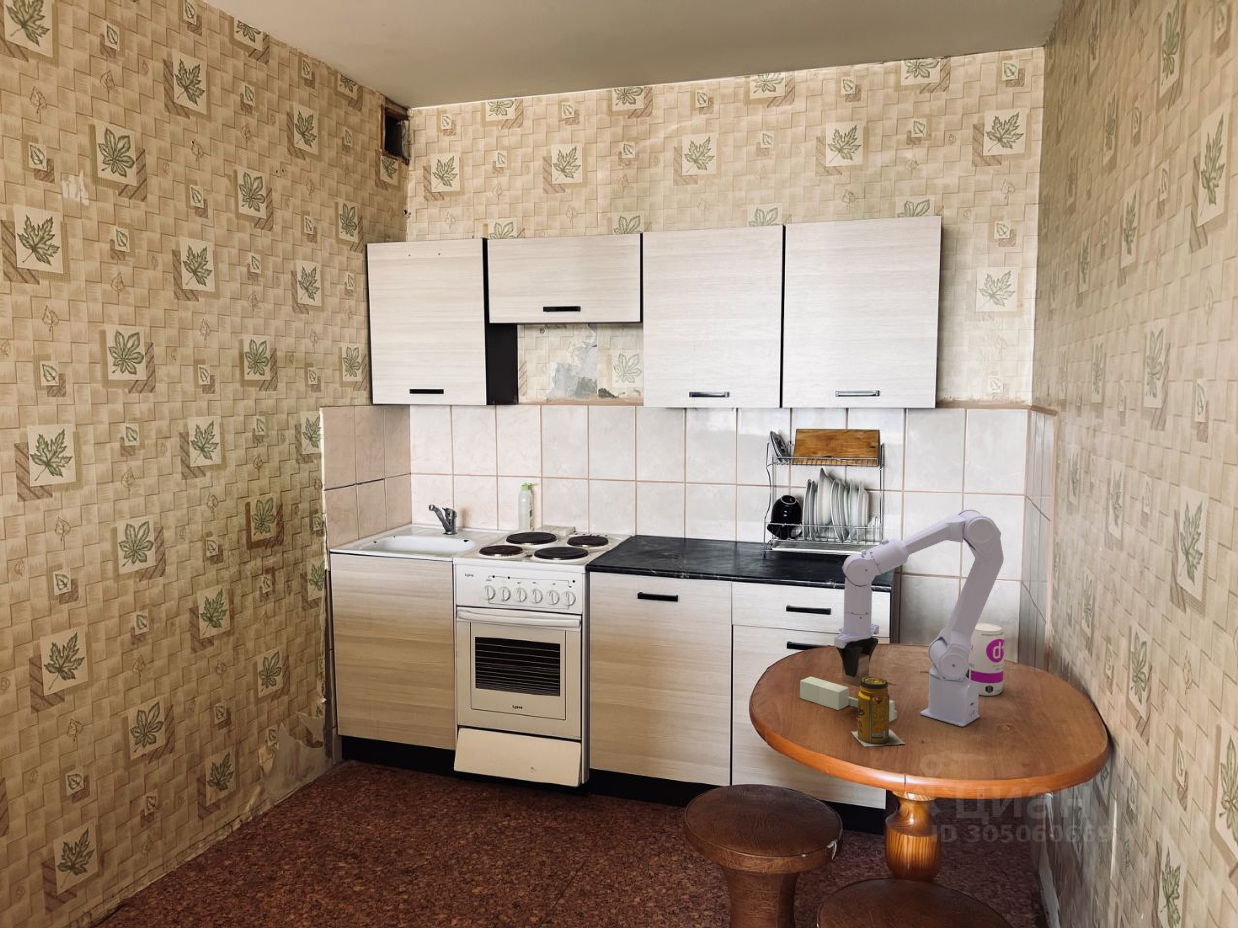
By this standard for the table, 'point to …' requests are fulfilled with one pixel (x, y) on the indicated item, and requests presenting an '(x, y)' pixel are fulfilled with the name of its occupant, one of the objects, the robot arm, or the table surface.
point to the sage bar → (832, 695)
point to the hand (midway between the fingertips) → (856, 672)
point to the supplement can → (987, 658)
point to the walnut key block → (861, 671)
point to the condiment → (874, 714)
